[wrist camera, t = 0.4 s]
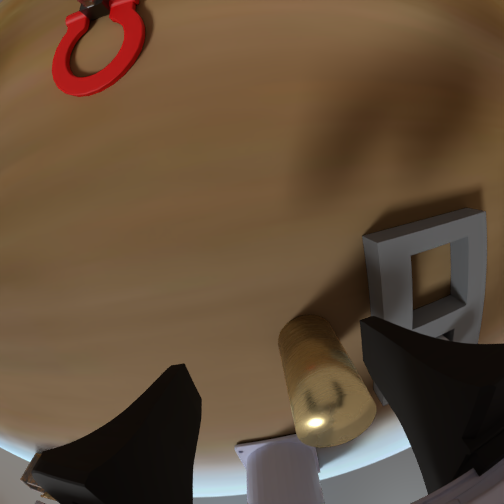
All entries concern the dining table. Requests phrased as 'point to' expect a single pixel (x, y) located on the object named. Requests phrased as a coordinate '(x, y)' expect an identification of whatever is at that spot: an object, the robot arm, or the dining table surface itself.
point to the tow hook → (92, 7)
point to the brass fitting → (322, 384)
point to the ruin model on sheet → (29, 480)
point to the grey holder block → (400, 276)
